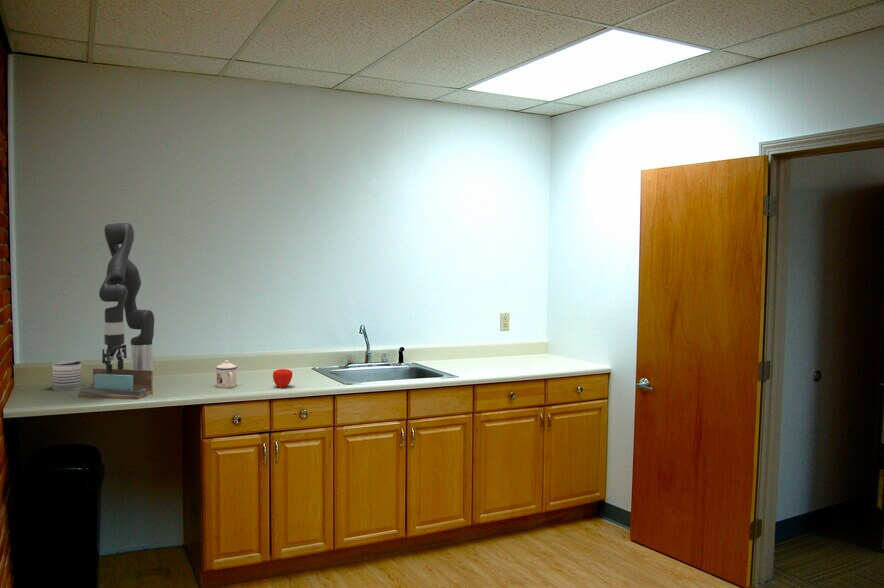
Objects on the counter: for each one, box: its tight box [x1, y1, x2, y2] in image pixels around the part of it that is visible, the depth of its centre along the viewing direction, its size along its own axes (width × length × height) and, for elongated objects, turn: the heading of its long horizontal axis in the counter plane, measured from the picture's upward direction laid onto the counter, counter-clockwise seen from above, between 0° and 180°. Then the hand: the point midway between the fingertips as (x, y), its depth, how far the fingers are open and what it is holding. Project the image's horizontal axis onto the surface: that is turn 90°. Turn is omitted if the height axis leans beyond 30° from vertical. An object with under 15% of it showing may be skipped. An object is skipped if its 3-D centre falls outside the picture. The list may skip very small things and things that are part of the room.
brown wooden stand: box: [77, 367, 154, 400], centre depth 294 cm, size 12×26×10 cm, turn 84°
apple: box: [272, 368, 293, 389], centre depth 321 cm, size 9×9×8 cm
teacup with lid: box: [215, 360, 238, 389], centre depth 318 cm, size 12×9×12 cm
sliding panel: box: [94, 374, 133, 390], centre depth 293 cm, size 2×16×8 cm, turn 84°
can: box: [51, 359, 82, 391], centre depth 307 cm, size 11×11×12 cm
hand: (115, 371), depth 293 cm, fingers open, 8 cm apart
